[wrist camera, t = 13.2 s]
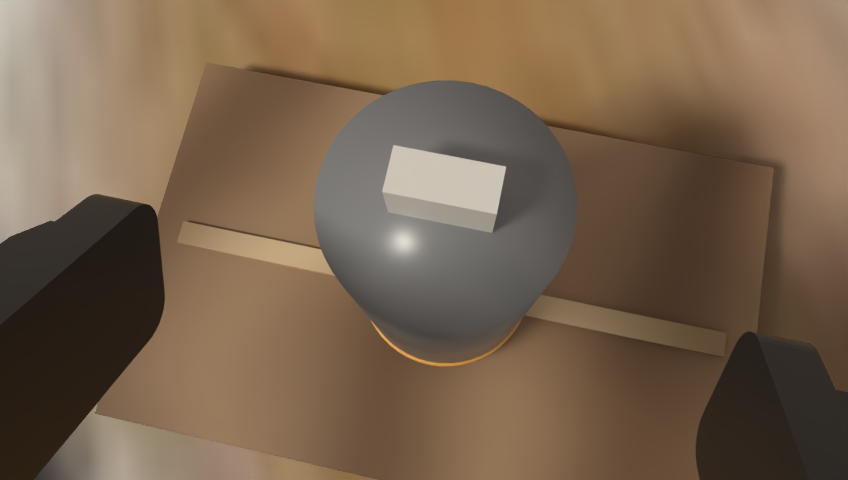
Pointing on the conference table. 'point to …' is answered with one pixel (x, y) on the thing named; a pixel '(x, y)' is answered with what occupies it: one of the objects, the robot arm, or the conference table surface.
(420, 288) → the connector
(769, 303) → the conference table surface
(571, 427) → the walnut board
